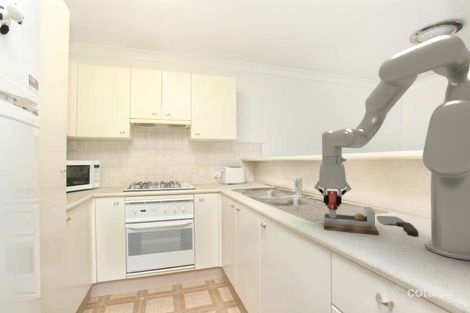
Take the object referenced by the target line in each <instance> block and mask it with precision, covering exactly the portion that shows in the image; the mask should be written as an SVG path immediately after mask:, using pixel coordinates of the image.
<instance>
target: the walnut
mask: <svg viewBox="0 0 470 313" xmlns="http://www.w3.org/2000/svg"><path fill="white" fill-rule="evenodd" d="M354 220H355V221H365V216H364V213H356V214H355V216H354Z"/></svg>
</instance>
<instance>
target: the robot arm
mask: <svg viewBox="0 0 470 313" xmlns="http://www.w3.org/2000/svg"><path fill="white" fill-rule="evenodd" d="M430 71H432V72H433V73H434V74H436V75H438V76H442V77H444V78H446V79H447V82H448V83H447V86H446V89H445V95H444V100H443V103H440V104H439V105H438V106H437V107H436V108H435V109H434V110H433V111H432V113H431V116H430V118H429V121H428V122H429V123H428V126H427V131H426V136H425V140H424V142H425V143H424V146H423V152H422V161H423V162H422V163H423V164H424V166H425V167H426V169H427V170H428V171H430V172H431V174H430V175H431V177H430V221H431V222H430V223H431V224H430V226H431V227H430V228H431V230H430V232H431V240H427V241H425V242H424V246H425V248H426V249H427V250H428V251H431V252H433V253H435V254H438V255H441V256H444V257H449V258H451V259H452V258H453V259H457V260H464V261H470V50H469V49H468V48H467V46H466V44H465V41H464V40H463V39H462V38H461V37H459V36H457V35H454V34H445V35H440V36H437V37H433V38H431V39H429V40H426V41H424V42H422V43H419V44H417V45H415V46H412V47H410V48H407V49H406V50H405V49H404V50H403V51H400V52H398V53H396V54H393V55H392V56H390V57H389V58H387V59H386V60H385V61H384V62H383V63H381V65H380V67H379V68H378V77H379V79H380V81H379V83H378V84H377V85H376V86H375V88H374V89H373V90H372V91H371V93H370V94H369V95H368V97H367V98H366V99H365V101H364V102H365V104H364V106H365V113H364V115H363V119H362V120H361V121H360V123H359V124H358V126H356V128H350V127H346V128H341V129H338V130H326V131H324V132H323V133H322V134H321V153H322V156H321V158H322V159H321V161H322V162H321V164H320V165H319V170H318V172H319V173H318V176H319V177H318V181H317V183H316V184H315V185H314V187H313V188H314V189H315V190H317V191H318V192H319V193H320V194H321V195H322V196H323V204H325V206H326V207H327V191H328V190H330V189H332V190H337V191H338V208H340V207H341V206H340V205H343V203H342V197H343V196H344V195H345V194H346V193H348V192H349V191H352V188H351V186H350V184H349V183H348V182H347V179H346V176H347V175H346V168H345V164H344V162H346V161H347V158H345V157H342V156H343V154H342V153H343V148H346V149H361V148H363V147H365V146H366V145H367V144H368V143H369V142H370V141H371V140H372V139H373V138H374V137H375V136H376V134H377V133H378V132H379V130H380V129H381V128H382V125H383V123H384V122H385V120H386V118H387V115H388V114H389V112H390V111H391V110H392V108H393V107H394V106H395V105H396V104H397V103H398V101H399V100H400V99H401V98H402V97H403V96H404V95H405V93H406V92H407V91H408V89H410V88H411V86H413V84H414V83H415V82H416V81H417V78H418V75H422V74H424V73H426V72H430Z"/></svg>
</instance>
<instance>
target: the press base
mask: <svg viewBox="0 0 470 313" xmlns="http://www.w3.org/2000/svg"><path fill="white" fill-rule="evenodd" d="M323 230H324V231H325V230H326V231H336V232H344V233H354V234H363V235H373V236H379V234H380V233H379V230H378V228H377V226H376V225H375V228H369V227H368V228H365V227H354V226H344V225H333V224H324V223H323Z"/></svg>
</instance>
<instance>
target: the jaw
mask: <svg viewBox="0 0 470 313" xmlns="http://www.w3.org/2000/svg"><path fill="white" fill-rule="evenodd" d="M326 194H327V206H326V207H327V209H328V213H329V218H332V219H336V214H337V210H338V209H339V207H338V194H339V193H338V190H327V191H326Z"/></svg>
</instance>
